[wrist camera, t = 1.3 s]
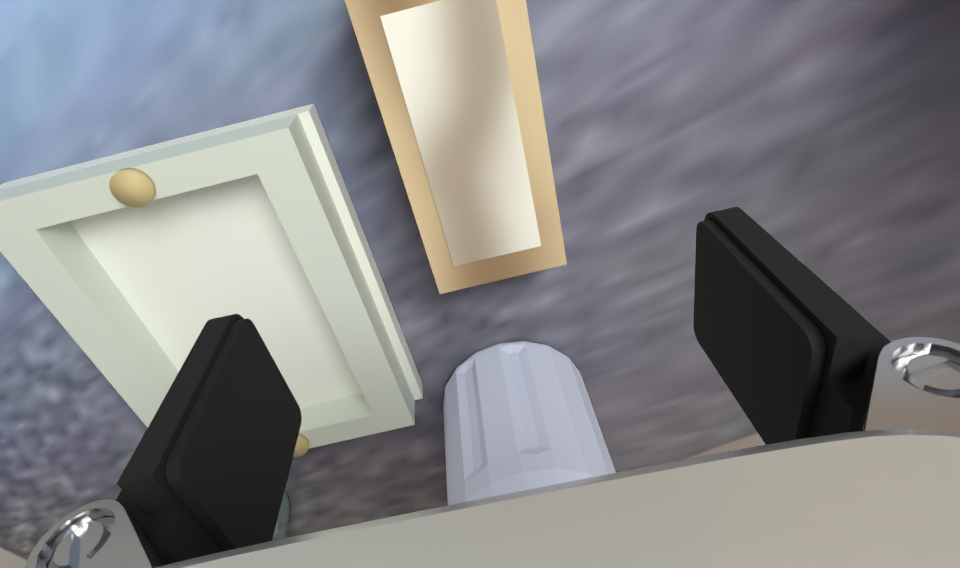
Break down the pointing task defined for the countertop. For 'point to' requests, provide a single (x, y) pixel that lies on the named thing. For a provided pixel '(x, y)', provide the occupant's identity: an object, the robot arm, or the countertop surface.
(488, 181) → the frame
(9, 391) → the countertop surface
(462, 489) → the soap bottle
